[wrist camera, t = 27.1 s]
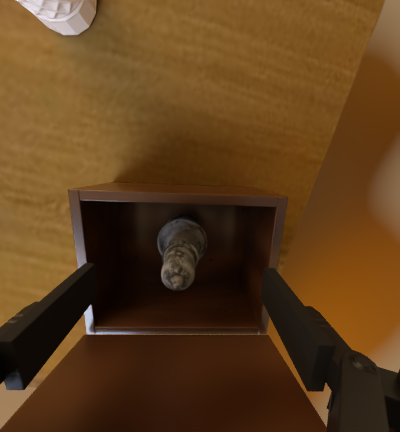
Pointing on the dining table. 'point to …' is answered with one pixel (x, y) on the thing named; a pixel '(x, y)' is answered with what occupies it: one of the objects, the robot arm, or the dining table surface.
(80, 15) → the white cup
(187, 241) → the grey chess piece
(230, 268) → the chest
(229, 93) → the dining table surface
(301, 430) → the brown wooden lid
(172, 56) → the dining table surface
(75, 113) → the dining table surface
